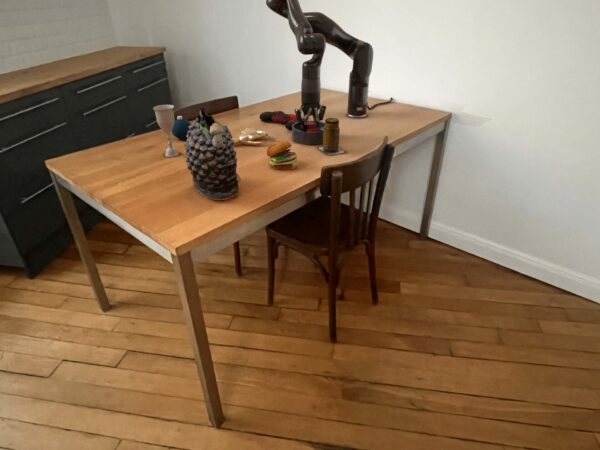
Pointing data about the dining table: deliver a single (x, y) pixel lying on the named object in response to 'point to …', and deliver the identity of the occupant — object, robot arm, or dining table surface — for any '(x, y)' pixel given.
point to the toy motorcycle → (279, 118)
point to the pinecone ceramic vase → (211, 158)
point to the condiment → (331, 137)
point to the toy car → (311, 127)
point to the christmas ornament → (181, 128)
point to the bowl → (307, 134)
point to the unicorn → (250, 136)
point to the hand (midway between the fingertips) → (310, 131)
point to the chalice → (166, 125)
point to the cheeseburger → (282, 155)
